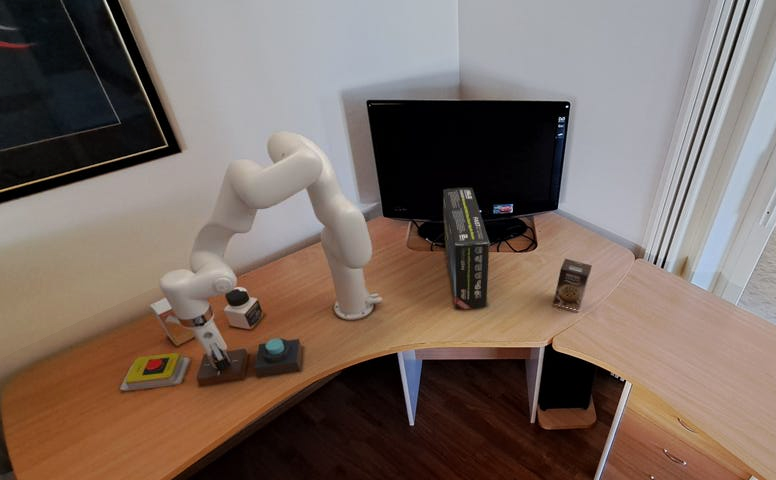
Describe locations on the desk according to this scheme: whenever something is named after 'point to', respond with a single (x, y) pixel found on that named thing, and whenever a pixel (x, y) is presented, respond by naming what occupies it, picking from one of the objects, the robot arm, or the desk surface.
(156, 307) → the small box
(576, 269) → the coffee box
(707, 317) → the desk surface
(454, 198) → the router box
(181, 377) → the emergency button
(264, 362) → the button housing
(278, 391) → the desk surface
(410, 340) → the desk surface
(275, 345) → the teal button cap
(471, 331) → the desk surface
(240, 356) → the rotary knob switch
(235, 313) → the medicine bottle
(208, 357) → the dial
